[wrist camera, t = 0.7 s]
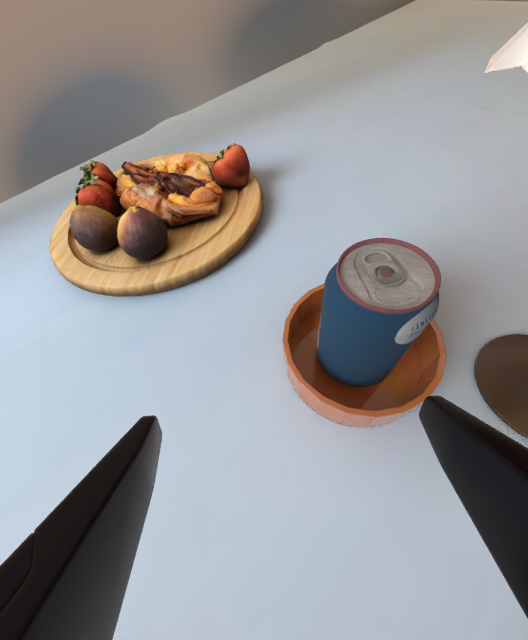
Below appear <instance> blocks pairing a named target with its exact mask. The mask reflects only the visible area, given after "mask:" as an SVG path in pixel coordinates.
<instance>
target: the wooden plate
mask: <svg viewBox="0 0 528 640" xmlns="http://www.w3.org/2000/svg"><path fill="white" fill-rule="evenodd" d="M220 153H221V155H217V154H211V153H201V152H184V153H174V154H167V155H162V156H157V157H153V158H149V159H145V160H142V161H139V162H136V163H130V162H128V163H127V162H126V161H125V162H124V163H123V165H122V168H121V169H119V170H117V171H115V172H113V173H112V172H111V171H110V169H109V168H108V167H107V166H106V165H104V164H103V163H99V162H94V161H93V160H91V162H90V163H89V165H87V164H86V165H84V167H80V170H83V172H84V176H83V179H81V180H80V182H79V183H78V185H80V184H84V185H83V186H82V187H81V189H80V187H77V188H76V193H77V195H76V197H75V199H74V200H73V201H72V202H71V203H70V204H69V205H68V207H67V208H66V209H65V210H64V212H63V213H62V215H61V216H60V218H59V219H58V221H57V223H56V225H55V227H54V230H53V232H52V236H51V242H50V253H51V257H52V260H53V262H54V264H55V267H56V268H57V270H58V271H59V272H60V274H61V275H62V276H63V277H64V278H65V279H66V280H68V281H69V282H70V283H72V284H73V285H75V286H77V287H79V288H81V289H83V290H86V291H89V292H93V293H97V294H102V295H108V296H141V295H148V294H154V293H158V292H162V291H166V290H170V289H173V288H176V287H179V286H182V285H185V284H187V283H190V282H192V281H194V280H197V279H199V278H201V277H203V276H205V275H206V274H208V273H210V272H211V271H213V270H215V269H216V268H218V267H219V266H220V265H222V264H223V263H225V262H226V261H227V260H228V259H230V258H231V257H232V256H233V255H234V254H235V253H237V252H238V251H239V250H240V249H241V248H242V246H243V245H244V244H245V243H246V242H247V240H248V239H249V238H250V236H251V235H252V233H253V232H254V230H255V228H256V227H257V224H258V222H259V219H260V216H261V213H262V208H263V194H262V190H261V187H260V184H259V182H258V180H257V178H256V177H255V176H254V175H253V173H252V172H251V171H250V166H249V160H248V157H247V154H246V152H245V150H244V148H243V147H242V146H240V145H236V144H233V145H229V146H228V147H227V149H226V150H223V149H222V151H221V152H220ZM84 179H85V180H84ZM85 182H86V183H85Z"/></svg>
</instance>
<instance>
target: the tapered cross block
mask: <svg viewBox="0 0 528 640" xmlns="http://www.w3.org/2000/svg"><path fill="white" fill-rule="evenodd" d="M520 66H521V67H522V68H523V69H524V70H525V71H526V72H527V73H528V23H527V24H526V25H525V26H524V27H522V28H521V29H520V30H519V31H518V32H517V33H516V34H515V35H514V36H513V37H512V38H511V39H510V40H509V41H508V42H507V43H506V44H505V45H504V46H502V47H501V48H500V49H499V50H498V51H497V52H496V53H495V54H494V55H493V56H492V57H491V59H490V61H489V63H488V65H487V68H486V70H485V72H484V73H487V72H492V71H498V70H503V69H509V68H514V67H520Z"/></svg>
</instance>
